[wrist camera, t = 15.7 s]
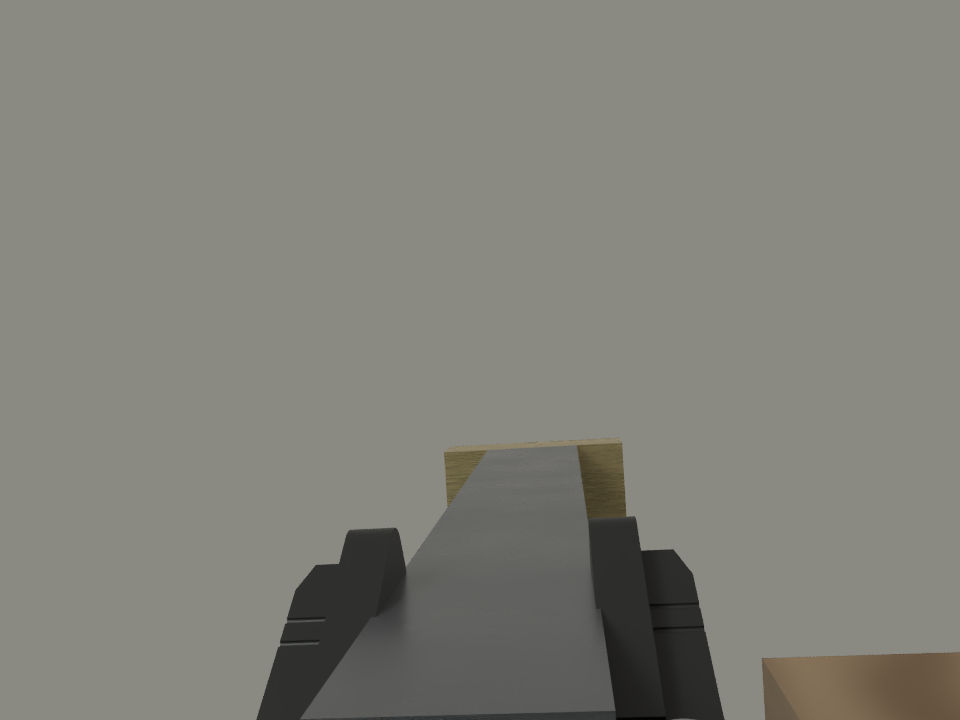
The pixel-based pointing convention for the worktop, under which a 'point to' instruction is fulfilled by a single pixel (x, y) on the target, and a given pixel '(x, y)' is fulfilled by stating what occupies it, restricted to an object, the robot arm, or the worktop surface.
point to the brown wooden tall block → (863, 687)
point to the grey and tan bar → (494, 597)
